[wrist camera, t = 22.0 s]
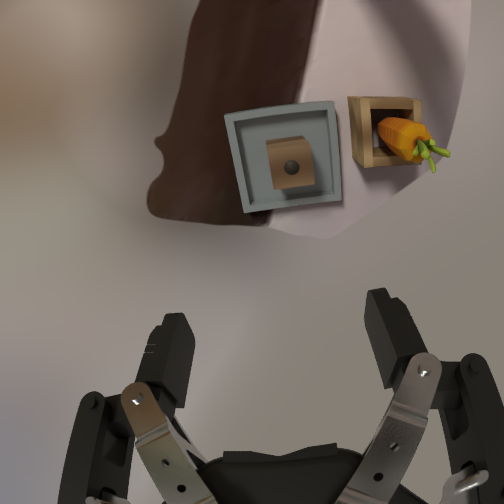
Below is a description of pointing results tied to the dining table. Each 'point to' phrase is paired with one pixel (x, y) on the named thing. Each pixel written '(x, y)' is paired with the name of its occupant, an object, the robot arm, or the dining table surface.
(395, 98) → the wooden crate
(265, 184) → the tray
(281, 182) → the walnut block
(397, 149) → the carrot
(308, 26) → the dining table surface
